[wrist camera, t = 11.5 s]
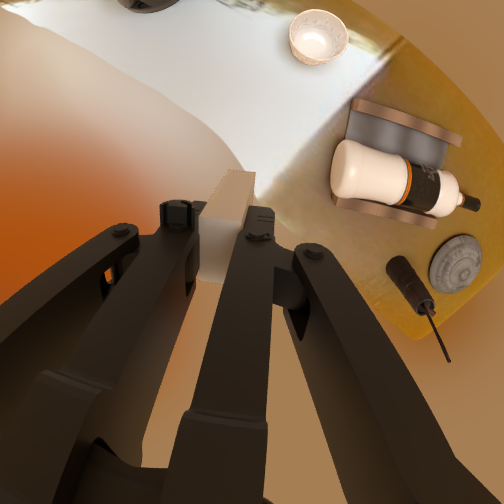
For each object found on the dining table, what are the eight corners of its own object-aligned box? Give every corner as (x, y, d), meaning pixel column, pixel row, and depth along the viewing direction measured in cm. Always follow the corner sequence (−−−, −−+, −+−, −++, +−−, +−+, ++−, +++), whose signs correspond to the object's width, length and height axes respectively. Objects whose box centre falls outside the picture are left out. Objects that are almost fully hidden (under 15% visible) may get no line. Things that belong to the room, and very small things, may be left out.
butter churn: (426, 270, 56) (483, 366, 31) (391, 293, 59) (432, 397, 35) (410, 240, 53) (477, 337, 29) (373, 266, 57) (418, 374, 32)
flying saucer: (483, 228, 50) (495, 239, 45) (472, 283, 57) (482, 296, 52) (430, 236, 52) (441, 249, 48) (423, 294, 59) (431, 309, 54)
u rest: (330, 196, 51) (335, 206, 46) (352, 98, 42) (359, 98, 37) (423, 219, 51) (434, 229, 46) (448, 132, 42) (462, 137, 37)
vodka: (342, 193, 39) (490, 230, 39) (348, 130, 38) (493, 180, 38) (326, 197, 48) (461, 227, 48) (332, 145, 47) (465, 183, 47)
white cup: (342, 40, 37) (357, 27, 28) (322, 76, 41) (333, 70, 32) (299, 19, 36) (304, 0, 27) (279, 55, 40) (279, 43, 31)
